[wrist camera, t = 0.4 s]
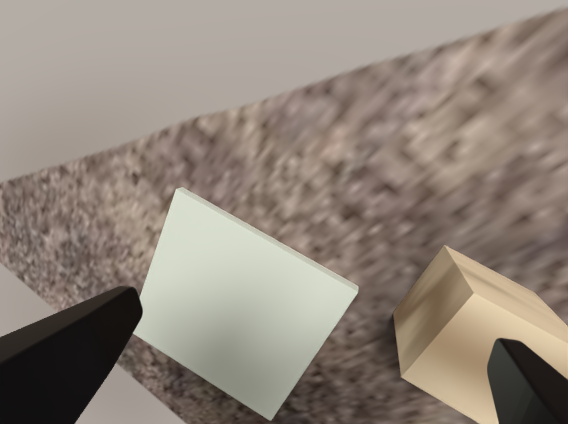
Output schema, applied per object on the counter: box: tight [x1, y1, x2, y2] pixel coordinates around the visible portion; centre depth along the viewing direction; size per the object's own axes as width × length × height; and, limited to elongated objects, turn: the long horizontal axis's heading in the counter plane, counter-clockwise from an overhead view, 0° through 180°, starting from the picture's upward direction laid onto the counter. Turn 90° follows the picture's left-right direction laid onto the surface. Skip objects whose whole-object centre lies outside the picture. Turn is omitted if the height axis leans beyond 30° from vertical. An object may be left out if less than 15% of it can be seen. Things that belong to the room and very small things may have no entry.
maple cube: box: [393, 245, 568, 424], centre depth 17 cm, size 6×6×6 cm
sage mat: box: [133, 187, 359, 421], centre depth 25 cm, size 15×15×1 cm
